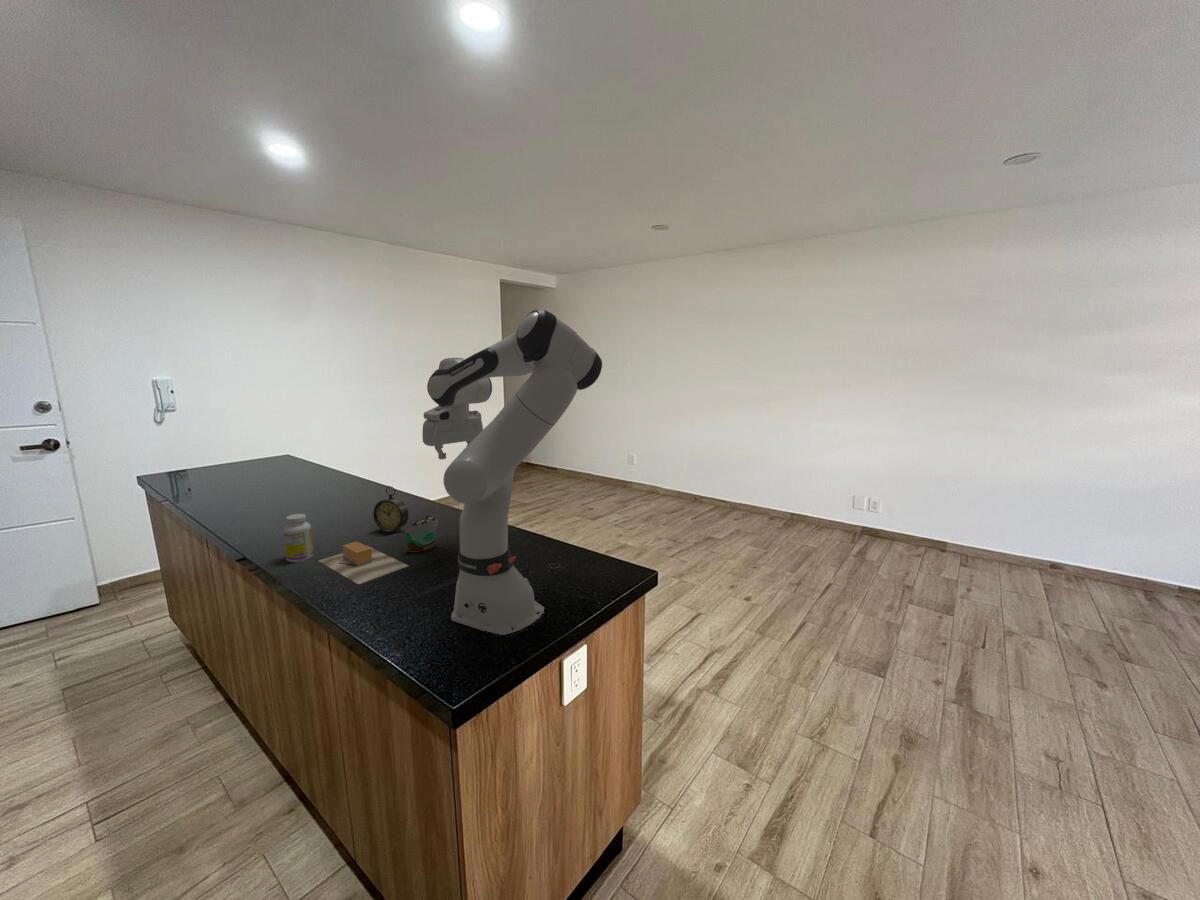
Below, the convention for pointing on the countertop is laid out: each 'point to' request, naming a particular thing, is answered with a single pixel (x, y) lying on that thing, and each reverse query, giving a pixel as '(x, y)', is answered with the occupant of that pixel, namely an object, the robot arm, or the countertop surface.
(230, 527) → the countertop surface
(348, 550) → the block
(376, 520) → the alarm clock
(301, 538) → the supplement bottle
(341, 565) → the birch board
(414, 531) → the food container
